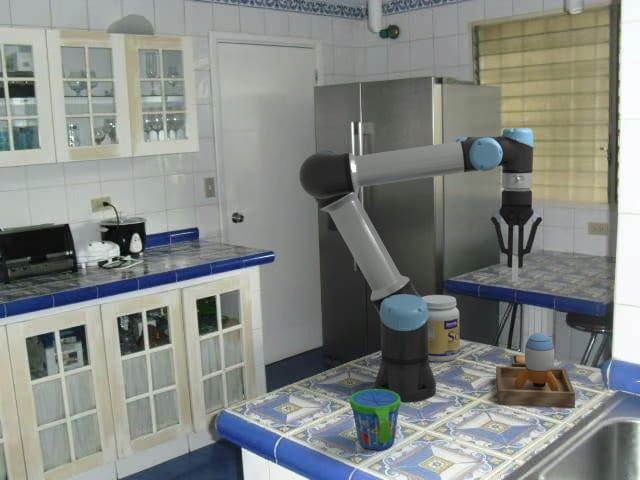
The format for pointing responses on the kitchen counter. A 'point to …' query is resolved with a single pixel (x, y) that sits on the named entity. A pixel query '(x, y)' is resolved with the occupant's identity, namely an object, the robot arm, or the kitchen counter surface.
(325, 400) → the kitchen counter surface
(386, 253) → the robot arm
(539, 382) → the toy rocket
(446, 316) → the supplement tub
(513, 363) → the button housing
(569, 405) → the open wooden tray
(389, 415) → the snack cup
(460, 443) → the kitchen counter surface
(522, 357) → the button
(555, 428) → the kitchen counter surface
